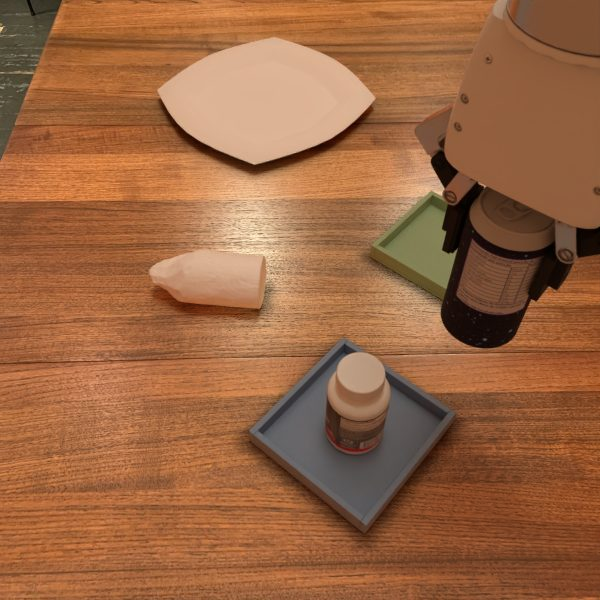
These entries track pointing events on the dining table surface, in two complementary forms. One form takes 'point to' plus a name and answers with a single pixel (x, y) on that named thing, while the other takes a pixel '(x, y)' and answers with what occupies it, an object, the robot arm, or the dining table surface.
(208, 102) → the plate
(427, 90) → the dining table surface
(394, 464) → the blue tray
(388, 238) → the green tray
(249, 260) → the pale pink bottle
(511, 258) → the beverage can
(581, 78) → the robot arm
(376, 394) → the pill bottle
